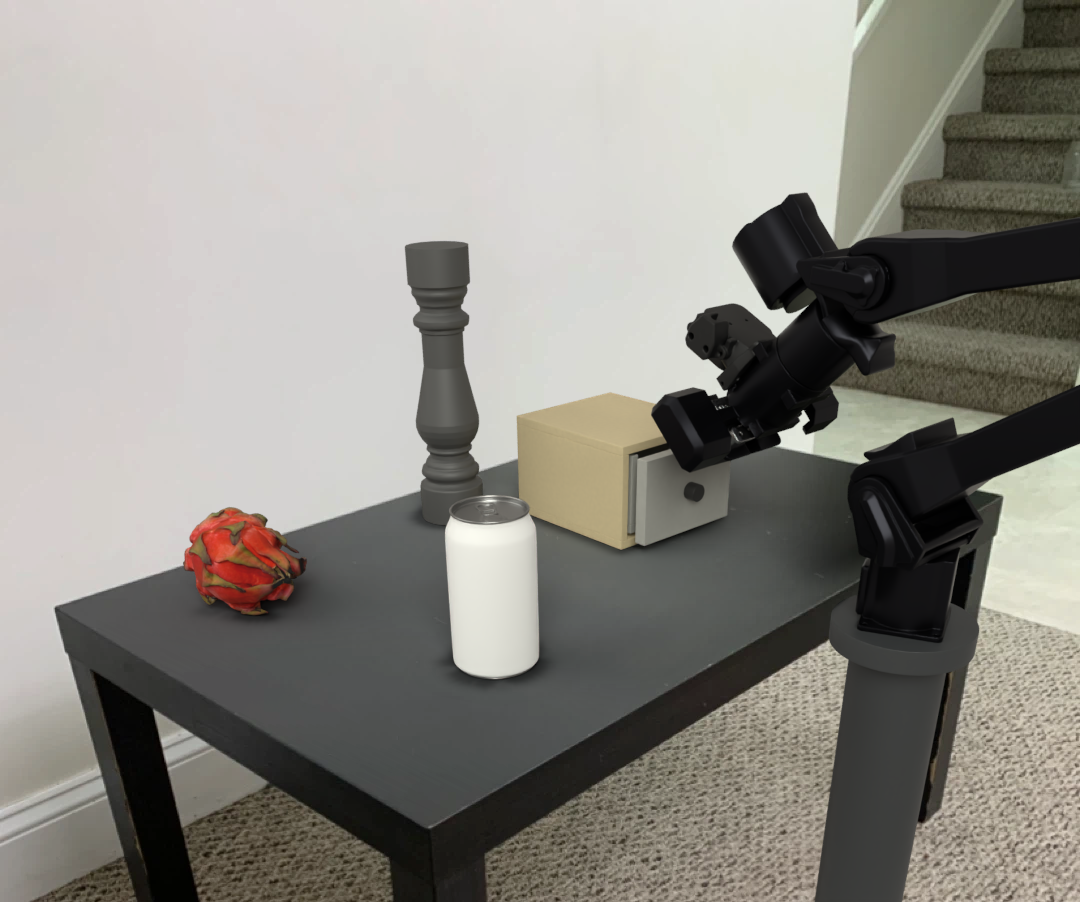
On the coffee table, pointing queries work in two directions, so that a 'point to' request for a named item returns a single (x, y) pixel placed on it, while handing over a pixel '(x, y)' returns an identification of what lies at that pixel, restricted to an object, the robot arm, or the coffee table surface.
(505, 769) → the coffee table surface
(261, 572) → the dragon fruit
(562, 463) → the small drawer cabinet
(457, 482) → the candle holder
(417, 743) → the coffee table surface
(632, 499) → the grey drawer with knob
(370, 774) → the coffee table surface
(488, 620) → the can
